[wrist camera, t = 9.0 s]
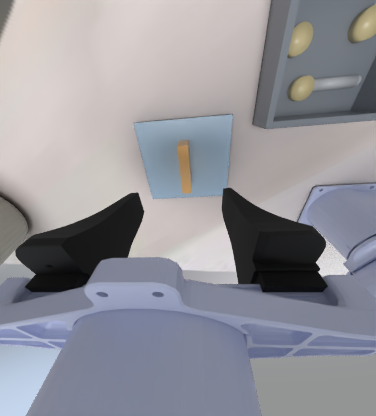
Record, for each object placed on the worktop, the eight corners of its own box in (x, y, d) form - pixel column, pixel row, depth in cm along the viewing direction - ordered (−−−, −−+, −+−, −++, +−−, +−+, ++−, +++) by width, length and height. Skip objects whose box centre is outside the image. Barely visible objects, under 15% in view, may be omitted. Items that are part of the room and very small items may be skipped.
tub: (420, -35, 11) (509, -89, 8) (349, 116, 17) (385, 119, 14) (273, -13, 12) (301, -54, 9) (252, 124, 18) (265, 129, 15)
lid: (230, 113, 18) (239, 116, 14) (224, 190, 24) (229, 205, 21) (137, 122, 19) (124, 126, 15) (154, 194, 25) (148, 209, 21)
